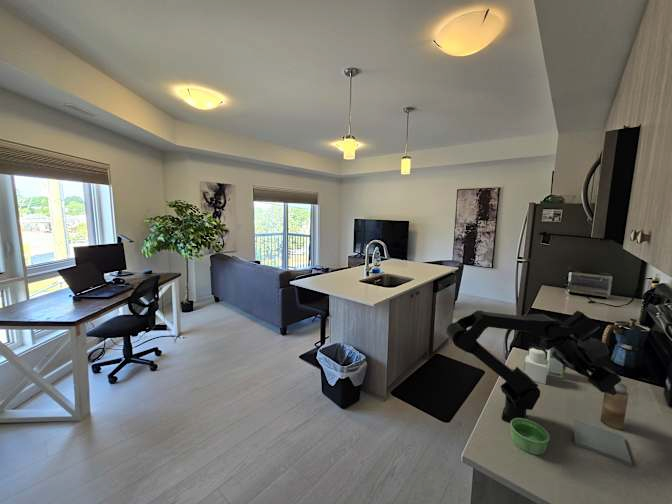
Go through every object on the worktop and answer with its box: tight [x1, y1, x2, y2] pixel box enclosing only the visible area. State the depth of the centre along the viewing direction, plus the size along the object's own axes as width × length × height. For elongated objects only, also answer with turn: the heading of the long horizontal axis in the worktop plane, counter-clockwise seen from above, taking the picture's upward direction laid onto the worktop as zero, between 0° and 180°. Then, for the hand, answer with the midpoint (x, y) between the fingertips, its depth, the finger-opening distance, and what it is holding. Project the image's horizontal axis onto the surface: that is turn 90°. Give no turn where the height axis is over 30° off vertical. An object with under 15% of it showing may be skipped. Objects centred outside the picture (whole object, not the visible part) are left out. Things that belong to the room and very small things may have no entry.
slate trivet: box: [572, 418, 633, 467], centre depth 79 cm, size 11×11×1 cm
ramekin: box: [509, 418, 550, 456], centre depth 78 cm, size 9×9×4 cm
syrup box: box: [545, 348, 567, 380], centre depth 113 cm, size 6×6×14 cm
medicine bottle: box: [523, 345, 548, 385], centre depth 110 cm, size 7×7×12 cm
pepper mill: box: [600, 382, 629, 431], centre depth 86 cm, size 5×5×13 cm
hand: (600, 384), depth 85 cm, fingers open, 9 cm apart
